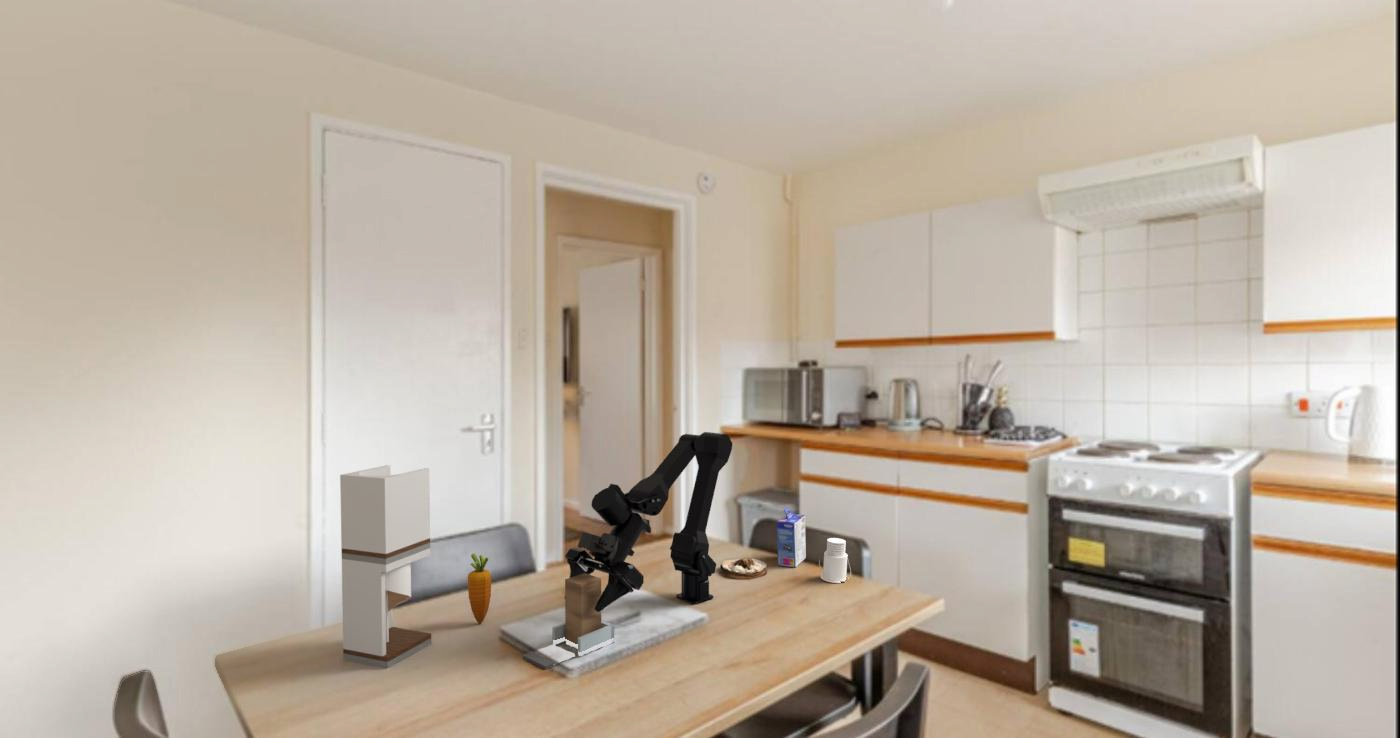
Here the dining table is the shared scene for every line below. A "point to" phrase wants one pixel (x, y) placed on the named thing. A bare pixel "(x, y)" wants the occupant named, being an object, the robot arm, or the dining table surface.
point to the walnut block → (581, 606)
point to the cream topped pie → (743, 568)
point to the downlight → (835, 561)
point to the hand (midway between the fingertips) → (580, 605)
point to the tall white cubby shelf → (381, 560)
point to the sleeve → (583, 642)
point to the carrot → (479, 588)
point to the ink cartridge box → (791, 539)
